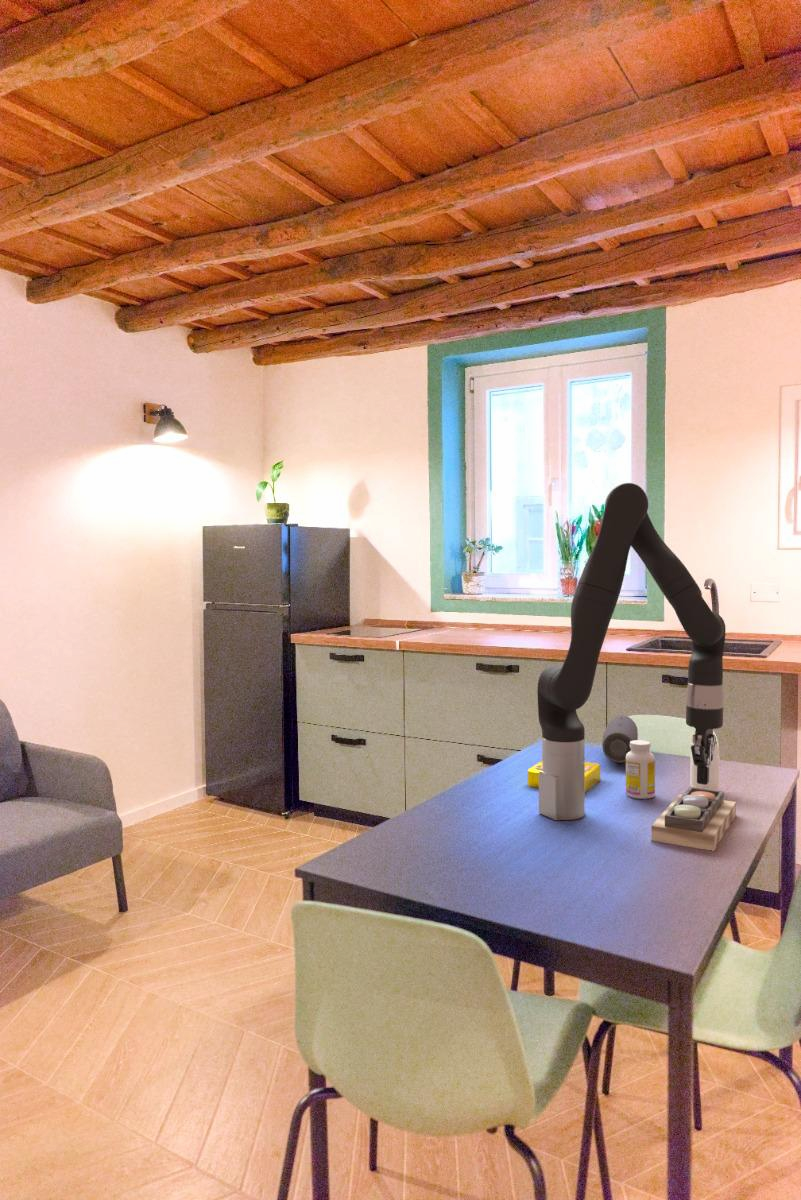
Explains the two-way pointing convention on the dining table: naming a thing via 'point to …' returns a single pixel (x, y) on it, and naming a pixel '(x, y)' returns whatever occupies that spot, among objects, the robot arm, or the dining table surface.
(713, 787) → the can
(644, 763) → the supplement bottle
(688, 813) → the button sage
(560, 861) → the dining table surface
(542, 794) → the robot arm
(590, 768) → the element tile
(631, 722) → the bluetooth speaker
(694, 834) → the button panel
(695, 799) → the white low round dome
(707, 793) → the button terracotta
